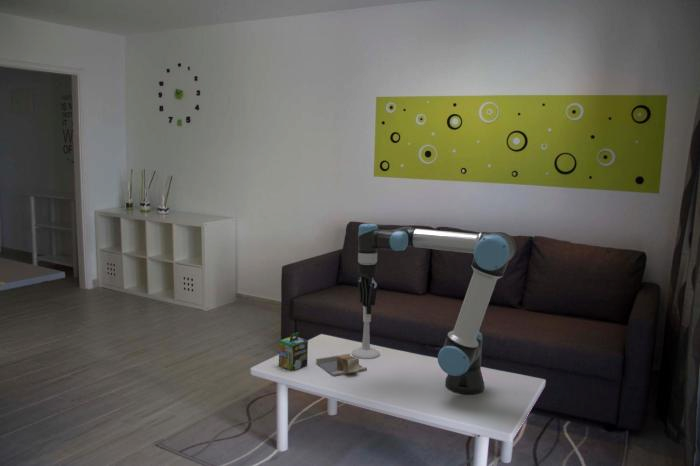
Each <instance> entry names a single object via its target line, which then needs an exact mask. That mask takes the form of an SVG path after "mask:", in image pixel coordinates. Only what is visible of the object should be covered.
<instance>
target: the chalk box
mask: <svg viewBox="0 0 700 466" xmlns="http://www.w3.org/2000/svg"><path fill="white" fill-rule="evenodd" d="M299 334H300V333H299V332H298V331H297V332H295V333H292V334H291V335H290V336H288V337H286V338H282V339H281V340H280V339H279V341H278V366H279V367H281V368H284V369H287V370H290V371H291V372H294V371H296V370H299V369H300V370H301V369H303V368H305V367H308V357H309V356H308V353H309V350H308V349H309V347H308V346H309V344H308V343H309V340H308V339H305V338H302V337H299Z"/></svg>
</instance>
